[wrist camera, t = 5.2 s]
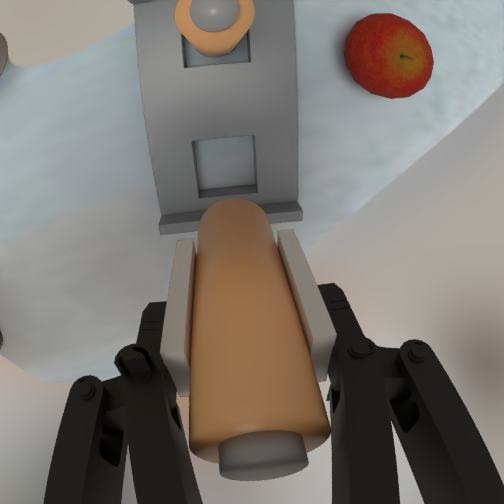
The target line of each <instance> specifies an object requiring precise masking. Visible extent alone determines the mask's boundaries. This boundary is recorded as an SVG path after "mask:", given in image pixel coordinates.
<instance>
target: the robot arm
mask: <svg viewBox="0 0 504 504" xmlns="http://www.w3.org/2000/svg"><path fill="white" fill-rule="evenodd" d="M278 251H279V254H280V257H281V260H282V264H283V267H284V270H285V273H286V276H287V280H288V283H289V286H290V289H291V293H292V296H293V299H294V302H295V306H296V309H297V312H298V316H299V319H300V322H301V326H302V329H303V332H304V336H305V339H306V343H307V346H308V349H309V353H310V356H311V360H312V363H313V367H314V370H315V374H316V377H317V381H318V382H322V381H326V378H327V374H328V375H329V379H330V382H331V385H330V388H329V392H328V395H327V401H329V400H330V416H331V444H332V504H400V496H399V484H398V473H397V463H396V455H395V446H394V439H393V432H392V425H391V421H392V424H393V426H394V428H395V430H396V433H397V435H398V438H399V440H400V442H401V445H402V447H403V450H404V452H405V455H406V457H407V460H408V462H409V465H410V467H411V470H412V472H413V475H414V477H415V480H416V482H417V485H418V487H419V490H420V493H421V495H422V498H423V501H424V504H504V485H503V483H502V480H501V478H500V475H499V473H498V471H497V469H496V467H495V464H494V462H493V460H492V458H491V456H490V453H489V452H488V449H487V447H486V445H485V443H484V441H483V439H482V437H481V435H480V433H479V431H478V429H477V427H476V425H475V423H474V421H473V419H472V418H471V416H470V414H469V412H468V410H467V408H466V406H465V405H464V403H463V401H462V399H461V397H460V396H459V394H458V392H457V390H456V388H455V387H454V385H453V383H452V382H451V380H450V378H449V376H448V375H447V373H446V371H445V370H444V368H443V366H442V365H441V363H440V361H439V360H438V358H437V357H436V355H435V353H434V352H433V350H432V349H431V347H430V346H429V345H428V344H427V343H425V342H423V341H420V340H416V339H414V340H408V341H406V342H404V343H403V345H402V346H401V347H400V349H399V348H385V347H379V346H377V345H375V343H374V342H372V341H371V340H370V339H368V338H366V337H365V336H364V334H363V332H362V330H361V328H360V326H359V323H358V321H357V319H356V317H355V315H354V313H353V311H352V309H351V307H350V304H349V302H348V301H347V298H346V296H345V294H344V292H343V290H342V289H341V288H339V287H338V286H337V285H335V283H330V284H322V285H317V284H316V281H315V279H314V277H313V274H312V272H311V270H310V267H309V265H308V262H307V260H306V258H305V255H304V253H303V250H302V248H301V246H300V243H299V241H298V239H297V237H296V234H295V232H294V230H293V229H291V230H280V231H278ZM195 266H196V252H195V247H194V241H193V239H189V240H180V241H177V245H176V250H175V256H174V262H173V267H172V273H171V279H170V285H169V291H168V298H167V301H165V302H152V303H149V304H148V305H147V307H146V308H145V310H144V311H143V313H142V318H141V324H140V327H139V332H138V337H137V342H136V344H131V345H128V346H125V347H124V348H123V349H121V350H120V351H119V352H118V354H117V355H116V357H115V361H114V363H115V365H116V367H117V368H118V370H119V372H120V373H121V376H118V377H116V378H112V379H109V380H105V381H102V382H101V380H99V379H98V378H97V377H95V376H91V375H89V376H83V377H81V378H79V379H78V380H76V381H75V382H74V383H73V385H72V387H71V389H70V392H69V396H68V399H67V403H66V406H65V409H64V413H63V416H62V420H61V424H60V427H59V432H58V435H57V439H56V444H55V447H54V452H53V456H52V461H51V466H50V470H49V476H48V481H47V486H46V492H45V498H44V504H121V499H122V488H123V479H124V470H125V462H126V454H127V447H128V445H129V453H130V461H131V467H132V474H133V481H134V487H135V493H136V498H137V503H138V504H203V503H202V499H201V496H200V493H199V489H198V485H197V482H196V478H195V474H194V471H193V466H192V463H191V459H190V455H189V450H188V446H187V442H186V438H185V433H184V429H183V424H182V420H181V415H180V410H179V407H178V405H177V402H176V393H177V392H178V395H179V397H189V389H190V355H191V331H192V312H193V295H194V280H195ZM2 343H3V340H2V335H1V332H0V349H1V346H2Z"/></svg>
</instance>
